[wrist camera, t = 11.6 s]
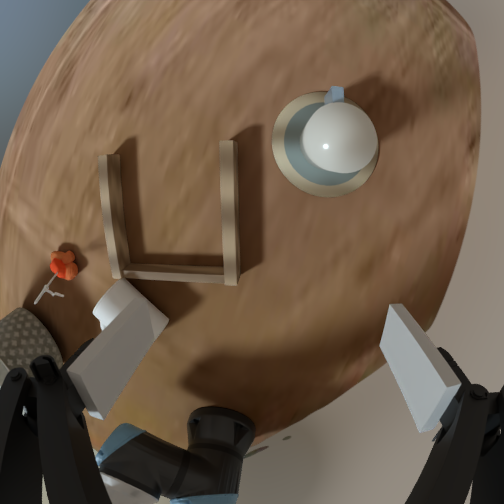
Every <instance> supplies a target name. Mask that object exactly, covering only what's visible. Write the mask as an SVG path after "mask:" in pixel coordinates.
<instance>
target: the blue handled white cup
mask: <svg viewBox="0 0 504 504" xmlns="http://www.w3.org/2000/svg"><path fill="white" fill-rule="evenodd" d="M324 102H325V105H324V106H322V107H320V108H319V109H318V110H317V111H316V112H315V113H314V114H313V115H312V117H311V118H310V119H309V121H308V122H307V124H306V125H305V127H304V128H303V130H302V132H301V135H300V141H299V143H300V149H301V152H302V154H303V156H304V158H305V159H306V160H307V161H308V162H309V163H310V164H311V165H312V166H314V167H316V168H318V169H321V170H326V171H332V172H338V173H352V172H356V171H358V170H360V169H362V168H364V167H365V166H366V165H367V164H368V163H369V162H370V161H371V159H372V158H373V156H374V154H375V151H376V147H377V135H376V131H375V128H374V125H373V123H372V122H371V120H370V119H369V117H368V116H367V115H366V114H365V113H364V112H363V111H362V110H360V109H359V108H357V107H356V106H353V105H351V104H348V103H344V90H343V87H336V86H332V87H331V88H330V90H329V91H328V92H327V94H326V95H325V97H324Z"/></svg>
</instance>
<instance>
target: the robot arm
mask: <svg viewBox="0 0 504 504" xmlns="http://www.w3.org/2000/svg"><path fill="white" fill-rule="evenodd" d="M154 341H155V338H154V333H153V328H152V324H151V319H150V314H149V309H148V303H147V299H143V298H134V299H133V300H132V301H131V302H130V303H129V304H128V305H127V306H126V307H125V308H124V309H123V310H122V311H121V312H120V313H119V314H118V315H117V316H116V317H115V318H114V320H113V321H112V322H111V323H110V324H109V325H108V326H107V327H106V328H105V329H104V330H103V331H102V332H101V333H100V334H99V335H98V336H97V337H96V338H95V339H94V338H92V339H90V340H88V341H87V342H85V343H84V344H83V345H82V346H81V347H80V348H79V349H78V350H77V351H76V352H75V353H74V355H72V356H71V357H70V358H69V359H68V361H67V362H66V363H65V364H64V365H63V366H62V367H61V368H60V369H59V368H58V366H57V364H56V361H55V359H54V358H53V357H52V356H50V355H41V356H39V357H37V358H35V359H34V360H33V361H32V362H31V363H30V366H29V367H30V369H31V371H32V373H33V375H34V377H29V375H28V374H27V372H26V370H25V369H24V368H21V367H18V368H14V369H12V370H10V371H9V372H8V373H7V375H6V377H5V379H4V381H3V384H2V386H1V388H0V504H42V478H43V476H44V481H45V486H46V491H47V496H48V500H49V504H153V503H157V502H158V501H159V498H160V495H161V496H164V497H167V498H169V499H171V500H170V504H236V501H237V498H238V491H239V484H240V477H241V471H242V463H243V458H244V456H245V454H246V452H247V451H248V449H249V447H250V446H251V444H252V442H253V441H254V438H255V431H256V428H255V425H254V423H253V422H252V421H251V420H250V419H249V418H247V417H246V416H244V415H242V414H240V413H238V412H236V411H233V410H229V409H225V408H219V407H204V408H200V409H197V410H195V411H193V412H192V413H191V414H190V417H189V420H188V423H187V431H188V444H189V446H188V449H187V450H184V449H182V448H180V447H178V446H175V445H173V444H171V443H169V442H166V441H164V440H162V439H160V438H158V437H156V436H154V435H152V434H150V433H148V432H147V431H146V430H142V429H140V428H138V427H136V426H134V425H132V424H129V423H123V424H121V425H119V426H118V427H117V428H116V429H115V430H114V431H113V432H112V433H111V435H110V436H109V437H108V438H107V440H106V441H105V442H104V444H103V445H102V447H101V449H100V450H99V452H98V453H97V455H96V457H95V455H94V452H93V448H92V445H91V441H90V437H89V433H88V429H87V425H86V421H85V417H84V415H83V413H82V411H83V410H84V408H85V407H86V409H87V410H88V412H89V414H90V416H93V417H96V418H99V419H101V420H104V419H105V418H106V416H107V414H108V413H109V411H110V410H111V408H112V406H113V405H114V403H115V401H116V400H117V398H118V397H119V395H120V393H121V392H122V390H123V389H124V387H125V386H126V384H127V382H128V381H129V379H130V378H131V376H132V375H133V373H134V371H135V370H136V368H137V367H138V365H139V364H140V362H141V361H142V359H143V357H144V356H145V354H146V353H147V351H148V350H149V348H150V347H151V345H152V344H153V342H154ZM379 346H380V348H381V350H382V352H383V354H384V356H385V358H386V360H387V362H388V364H389V366H390V368H391V370H392V372H393V374H394V377H395V378H396V381H397V383H398V385H399V387H400V389H401V392H402V394H403V396H404V398H405V401H406V403H407V405H408V407H409V410H410V412H411V414H412V417H413V419H414V421H415V424H416V426H417V428H418V431H419V433H421V432H425V431H428V430H432V429H434V428H435V426H436V425H437V423H438V422H439V420H440V422H441V423H442V428H441V429H440V430H439V431H438V433H437V434H436V436H435V437H434V438H433V440H432V441H435V439H436V441H435V443H434V446H433V448H432V450H431V453H430V455H429V458H428V460H427V462H426V464H425V466H424V468H423V470H422V473H421V475H420V477H419V479H418V481H417V482H416V484H415V486H414V488H413V490H412V492H411V494H410V496H409V497H408V499H407V501H406V502H405V504H464V503H465V500H466V497H467V495H468V492H469V489H470V486H471V483H472V480H473V483H472V492H471V499H470V504H504V386H503V387H502V389H501V390H500V392H494V393H489V392H488V391H487V389H486V388H484V387H483V386H481V385H479V384H471V383H470V381H469V380H468V378H467V377H466V376H465V374H464V373H463V372H462V370H461V369H460V368H459V366H457V363H456V362H455V361H454V360H453V358H452V356H451V355H450V354H449V353H448V352H447V351H446V350H444V349H443V348H441V347H439V348H436V347H435V345H434V344H433V343H432V341H431V340H430V339H429V337H428V336H427V335H426V333H425V332H424V331H423V330H422V328H421V327H420V326H419V324H418V323H417V322H416V321H415V319H414V318H413V317H412V316H411V314H410V313H409V312H408V311H407V309H406V308H405V307H404V306H403V305H402V304H390V305H389V310H388V314H387V318H386V322H385V326H384V330H383V334H382V338H381V342H380V345H379ZM23 410H24V411H25V414H24V416H23V415H22V412H23ZM500 429H501V434H500ZM98 466H100V468H98Z"/></svg>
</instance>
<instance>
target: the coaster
mask: <svg viewBox="0 0 504 504" xmlns="http://www.w3.org/2000/svg"><path fill="white" fill-rule="evenodd" d="M326 94H327V92H313V93H309V94H305V95H303V96H300V97H298V98H296V99H295V100H293V101H292V102H290V103H289V104H288V105H287V106H286V107H285V108H284V109H283V110H282V112H281V113H280V115H279V116H278V118H277V120H276V122H275V125H274V129H273V134H272V149H273V153H274V157H275V160H276V162H277V164H278V166H279V168H280V170H281V171H282V173H283V174H284V176H285V177H286V178H287V179H288V180H289V181H290V182H291V183H292V184H293V185H295V186H296V187H298V188H299V189H301V190H303V191H305V192H307V193H309V194H312V195H316V196H320V197H337V196H342V195H345V194H348V193H350V192H352V191H354V190H356V189H357V188H359V187H360V186H361V185H362V184H364V183H365V181H366V180H367V179H368V178H369V176H370V175H371V174H372V172H373V170H374V168H375V165H376V162H377V157H378V138H377V147H376V151H375V154H374V156H373V158H372V159H371V161H370V162H369V163H368V164H367V165H366V166H365V167H364V168H362V169H360V170H358V171H356V172H352V173H338V172H332V171H326V170H321V169H318V168H316V167H314V166H312V165H311V164H310V163H309V162H308V161H307V160H306V159H305V158H304V156H303V154H302V152H301V149H300V143H299V141H300V135H301V132H302V130H303V128H304V127H305V125H306V124H307V122H308V121H309V119H310V118H311V117H312V115H313V114H314V113H315V112H316V111H317V110H318V109H319V108H320V107H322V106H324V105H325V102H324V97H325V95H326ZM344 103H348V104H351V105H353V106H356V107H357V108H359V109H360V110H362V111H363V112H364V110H363V109H362V108H361V107H359V106H358V105H357V104H356V103H354V102H353V101H352V100H350V99H348V98H346V97H344ZM364 113H365V112H364ZM365 114H366V113H365ZM366 115H367V114H366ZM367 116H368V115H367ZM369 119H370V118H369ZM371 122H372V121H371ZM376 135H377V134H376Z"/></svg>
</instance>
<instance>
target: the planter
mask: <svg viewBox="0 0 504 504" xmlns="http://www.w3.org/2000/svg"><path fill="white" fill-rule="evenodd" d="M41 355H50V356H52V357H53V358H54V359H55V361H56V364H57V366H58V368H59V369H60V368H61V367H62V366H63V360H62V356H61V353H60V351H59V349H58V347H57V345H56V343H55V341H54V339H53V338H52V336H51V334H50V333H49V331H48V330H47V329H46V327H45V326H44V325H43V324H42V323H41V322H40V321H39V320H38V319H37V318H36V317H35V316H34V315H33V314H32V313H31V312H29V311H28V310H26V309H24V308H16V309H15V310H14V311H12V312H11V313H9V314H8V315H7V316H6V317H4V318H3V319H2V320H0V386H2V384H3V381H4V379H5V377H6V375H7V373H8V372H9V371H10V370H12V369H14V368H18V367H21V368H24V369H25V370H26V372H27V374H28V375H29V377H34V375H33V373H32V371H31V369H30V367H29V366H30V363H31V362H32V361H33V360H34V359H35V358H37V357H39V356H41Z"/></svg>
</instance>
